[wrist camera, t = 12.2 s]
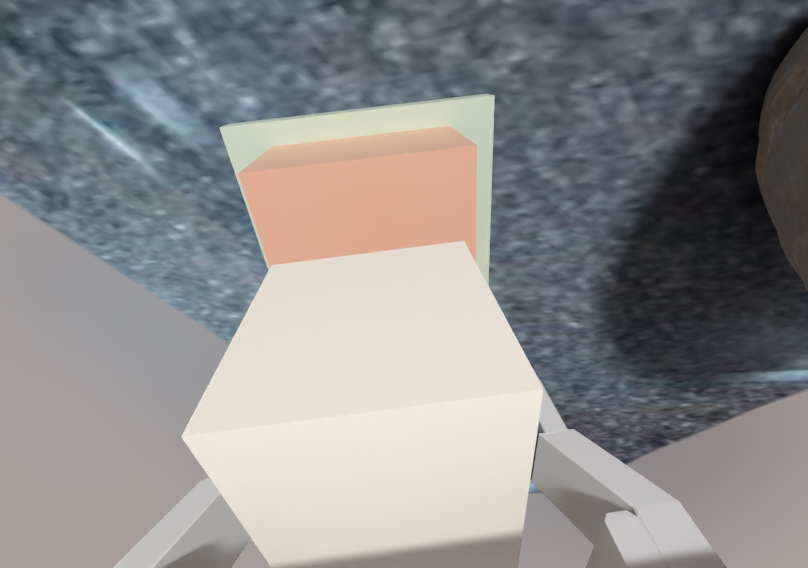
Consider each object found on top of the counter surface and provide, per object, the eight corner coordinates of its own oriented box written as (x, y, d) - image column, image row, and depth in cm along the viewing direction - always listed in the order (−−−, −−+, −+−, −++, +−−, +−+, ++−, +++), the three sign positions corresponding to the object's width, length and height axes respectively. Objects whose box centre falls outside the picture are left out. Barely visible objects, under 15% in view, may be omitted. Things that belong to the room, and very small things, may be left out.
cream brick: (271, 264, 9) (181, 436, 5) (463, 240, 9) (543, 389, 5) (337, 457, 13) (319, 637, 9) (467, 440, 13) (510, 611, 9)
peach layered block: (228, 123, 16) (163, 148, 11) (487, 93, 16) (538, 104, 11) (295, 327, 23) (273, 403, 17) (482, 304, 23) (514, 372, 18)
